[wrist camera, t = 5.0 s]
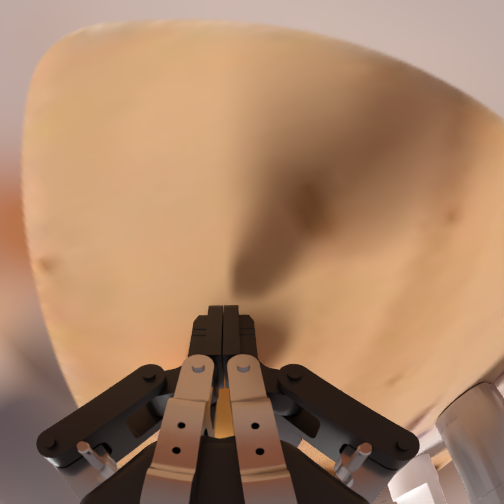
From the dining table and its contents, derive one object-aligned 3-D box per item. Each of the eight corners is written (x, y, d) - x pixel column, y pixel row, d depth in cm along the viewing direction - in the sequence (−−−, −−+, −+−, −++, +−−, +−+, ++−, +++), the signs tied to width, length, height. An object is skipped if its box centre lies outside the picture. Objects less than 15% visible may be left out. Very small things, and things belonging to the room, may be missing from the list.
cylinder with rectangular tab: (405, 458, 32) (425, 514, 21) (437, 449, 33) (458, 497, 23) (375, 480, 35) (390, 530, 25) (408, 471, 37) (424, 516, 26)
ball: (239, 469, 14) (238, 411, 20) (268, 420, 13) (260, 360, 18) (153, 451, 14) (167, 395, 19) (161, 398, 12) (178, 340, 18)
